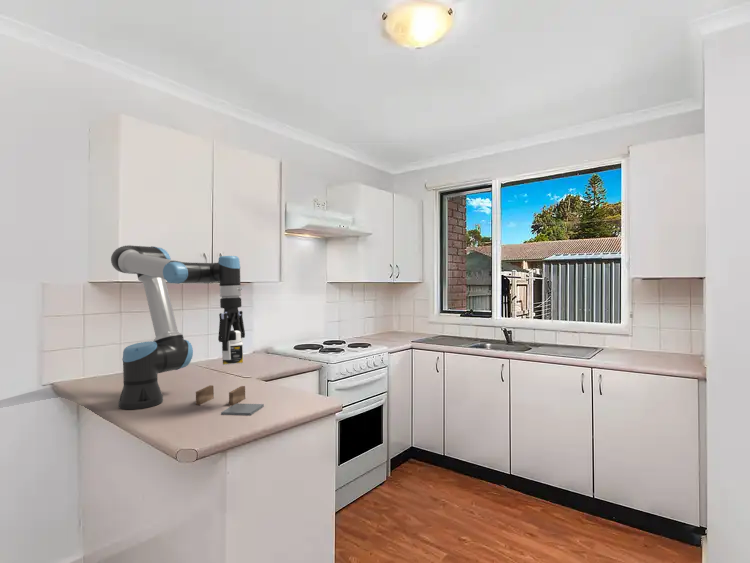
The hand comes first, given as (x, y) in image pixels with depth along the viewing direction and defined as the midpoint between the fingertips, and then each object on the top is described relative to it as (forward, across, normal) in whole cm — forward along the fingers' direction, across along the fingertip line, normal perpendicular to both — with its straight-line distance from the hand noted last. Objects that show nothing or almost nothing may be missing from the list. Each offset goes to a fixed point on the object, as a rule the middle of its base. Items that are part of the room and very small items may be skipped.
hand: (233, 357), depth 164 cm
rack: (+18, +6, +9) cm, 21 cm away
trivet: (+18, -4, -5) cm, 20 cm away
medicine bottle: (+2, 0, 0) cm, 2 cm away
